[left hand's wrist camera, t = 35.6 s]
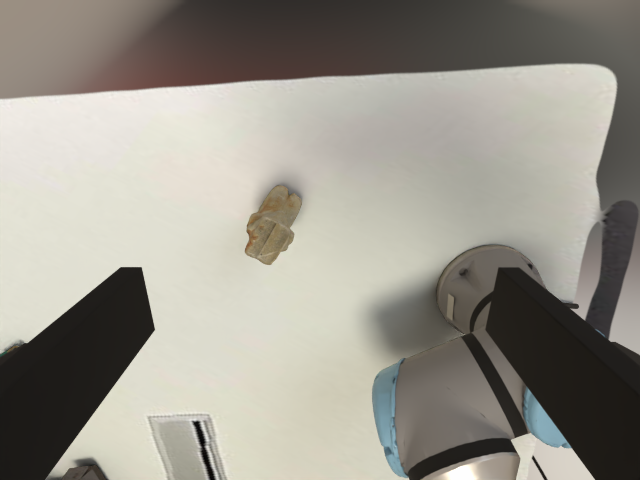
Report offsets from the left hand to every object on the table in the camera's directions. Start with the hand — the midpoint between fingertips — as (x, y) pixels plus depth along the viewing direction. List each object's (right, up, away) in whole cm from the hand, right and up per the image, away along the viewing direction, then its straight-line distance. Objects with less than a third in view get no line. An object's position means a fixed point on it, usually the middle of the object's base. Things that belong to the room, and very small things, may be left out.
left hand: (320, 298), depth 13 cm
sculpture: (-6, +7, +37) cm, 38 cm away
